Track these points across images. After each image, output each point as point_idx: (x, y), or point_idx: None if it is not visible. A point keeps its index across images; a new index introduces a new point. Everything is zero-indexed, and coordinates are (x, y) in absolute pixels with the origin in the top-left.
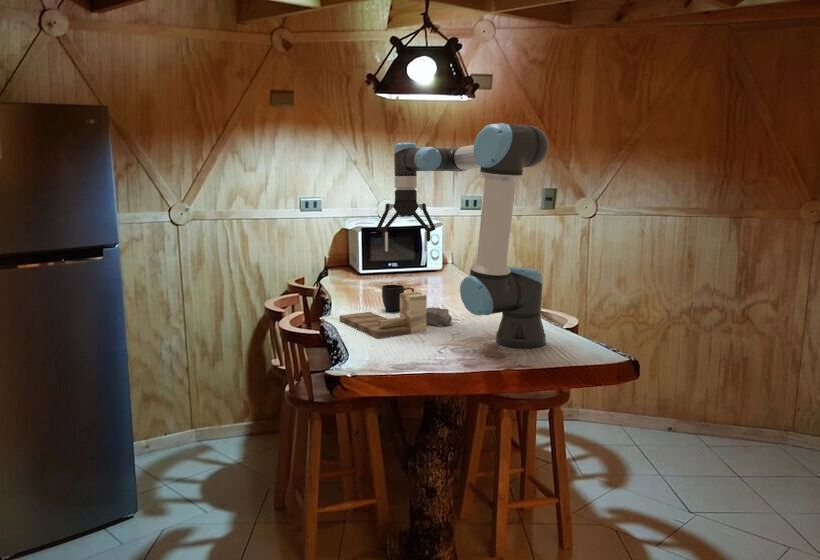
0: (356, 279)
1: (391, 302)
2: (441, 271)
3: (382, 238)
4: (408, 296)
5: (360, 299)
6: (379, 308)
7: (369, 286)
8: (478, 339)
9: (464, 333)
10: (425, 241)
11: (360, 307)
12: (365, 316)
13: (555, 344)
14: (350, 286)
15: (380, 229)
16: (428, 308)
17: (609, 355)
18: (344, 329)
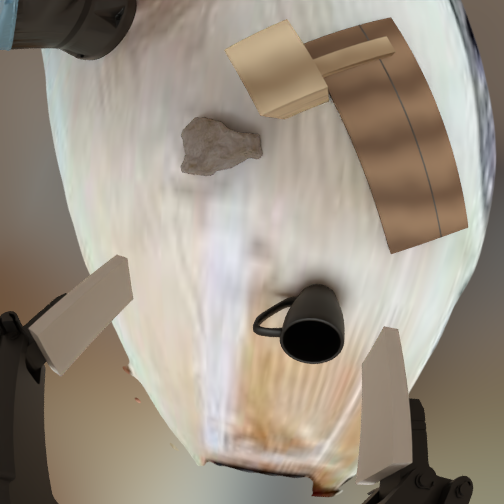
0: (319, 467)
1: (324, 295)
2: (206, 459)
3: (420, 420)
4: (295, 32)
5: (356, 395)
6: None
7: (313, 446)
8: (159, 18)
9: (175, 57)
10: (79, 292)
11: None
12: (414, 200)
13: None
14: (341, 449)
15: (437, 490)
16: (231, 150)
17: None
18: (464, 132)
